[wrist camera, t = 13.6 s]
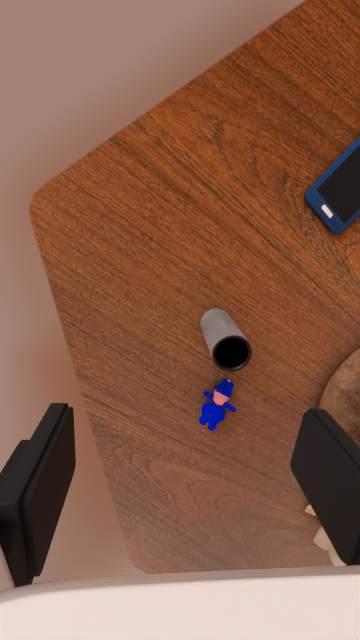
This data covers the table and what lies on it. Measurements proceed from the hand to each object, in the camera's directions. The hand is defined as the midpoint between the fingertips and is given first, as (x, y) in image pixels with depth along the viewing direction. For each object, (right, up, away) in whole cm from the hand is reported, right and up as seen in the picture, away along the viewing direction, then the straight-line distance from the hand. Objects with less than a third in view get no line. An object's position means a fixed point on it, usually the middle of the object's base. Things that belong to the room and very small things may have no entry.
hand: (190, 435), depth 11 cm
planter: (+5, +4, +30) cm, 30 cm away
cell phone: (+22, +23, +24) cm, 40 cm away
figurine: (+5, -7, +34) cm, 35 cm away
